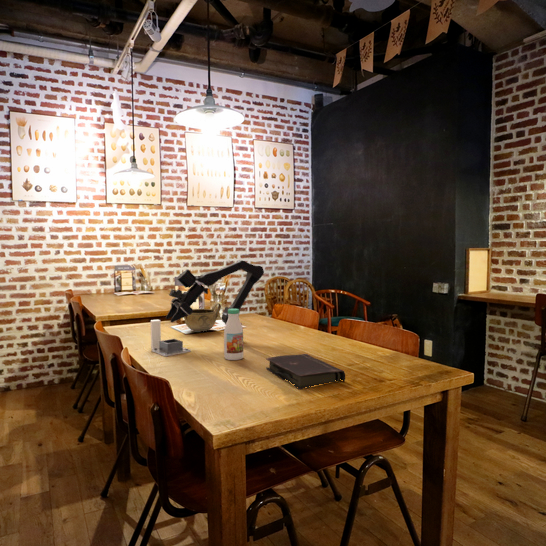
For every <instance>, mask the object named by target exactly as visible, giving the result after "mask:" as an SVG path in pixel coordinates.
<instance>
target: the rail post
mask: <svg viewBox="0 0 546 546" xmlns="http://www.w3.org/2000/svg"><path fill="white" fill-rule="evenodd" d="M161 322H162V321H161V319H151V320H150V348H151V350H152V349H154V348H159V341H162V339H161V337H162V335H161V333H162V332H161V329H162V328H161V327H162V326H161V324H162V323H161Z"/></svg>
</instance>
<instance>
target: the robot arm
mask: <svg viewBox="0 0 546 546" xmlns="http://www.w3.org/2000/svg"><path fill="white" fill-rule="evenodd" d="M239 271H244V272H245V273H246V274H245V275H246V276H245V281H244V283H243V284H242V286H241V288H240V289H239V291H238V293H237V295H236V296H235V298H234V300H233V302H232V304H231V305H230V306H229V307H228V306H225V308H224V310H223V312H222V313H221V320H222V322H223V323H224V326H225V325H226V323H227V320H228V309H239V314H240V311H241V309H242V307H243V306H244V305H243V304H244V303H245V302H246V300H247V298H248V296H249V294H250V292H251V290H252V288H254V285H256V283H257V282H259V281H260V279H261V278H262V277H263V275H264V274H265V270H264V268H263V267H262V266H261V265H255V264H252V263H249V262H248V261H246V260H240V259H239V260H237V261H236V262H232V263H230V264H228V265H226V266H223V267H222V268H219V269H217V270H214V271H212V270H211V271H207V272H203V273H201V274H200V275H198V276H197V275H196V276H195V275H194V274H193V273H192V272H191V271H190V270H189V269H187V268H186V269H185V271H183V272H181V273H180V274H179V275H178V276H177V277H176V280H177V281H178V282H179V284H181V285H182V286H183V287H184V288H188V290H186V291H183V290H181V289H179V288H178V289H177V290H175V289H173V288H171V290H170V292H169V294H168V296H170V297H172V300H170V309H169V310H168V313H167V315H166V316H165V319H166V320H169V319H170V318H171V319H170V320H169V321H170V323H174V322H177V321H178V320H180V319H184V317H186V316H188V315H191V314H192V312H193V309H194V308H192V305H193V304H194V303H197V300H198V298H199V297H201V295H203V293H204V295H205V294H206V295H208V294H209V288H208V287H210V286H212V285H214V284H216V283H217V282H218V281H219V280H221V279H222V278H224V277H226V276H228V275H232V274H234V273H236V272H239ZM199 283H200V284H199ZM204 286H206V287H204ZM187 314H188V315H187ZM241 324H242V325H243V323H242V322H241Z"/></svg>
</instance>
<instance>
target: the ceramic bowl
mask: <svg viewBox="0 0 546 546" xmlns="http://www.w3.org/2000/svg"><path fill="white" fill-rule="evenodd" d="M211 306H212V307H211V309H210V308H192V309H193V312H192V314H191V315H188V314H187V315H188V316H186V317H183V319H184V323H185V325H186V327H187V328H188V329H189V330H191V331H192V330H193V331H192V332H195V331H203V332H202V333H205V332H204V331H206V332H208V331H210V330H212V328H214V326H215V324H216V321H217V319H218V316H219V314H220V310H221V309H222V304H221V303H220V302H214V304H213V305H211ZM216 307H217V309H216ZM209 329H210V330H209ZM207 330H208V331H207Z"/></svg>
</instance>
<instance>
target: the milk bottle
mask: <svg viewBox="0 0 546 546" xmlns="http://www.w3.org/2000/svg"><path fill="white" fill-rule="evenodd" d="M240 320H241V319H240V313H239V309H228V320H227V323H226V325H225V324H224V331H223V352H224V353H223V355H224V359H225V360H229V361H238V360H241V359H244V328H243V323H242V322H241V321H240ZM241 323H242V324H241Z"/></svg>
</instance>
